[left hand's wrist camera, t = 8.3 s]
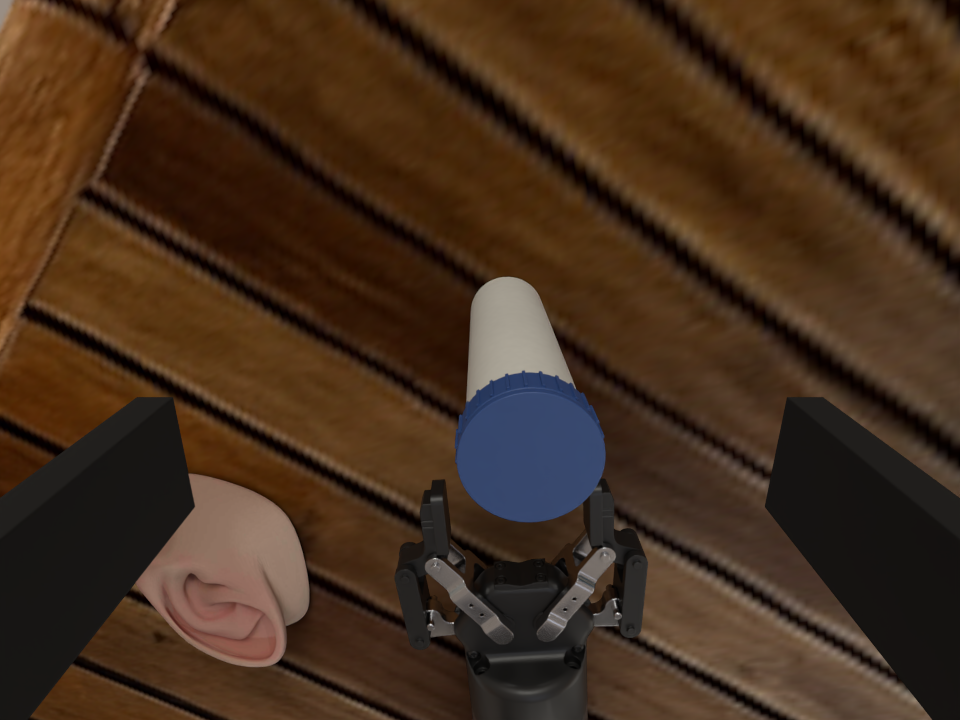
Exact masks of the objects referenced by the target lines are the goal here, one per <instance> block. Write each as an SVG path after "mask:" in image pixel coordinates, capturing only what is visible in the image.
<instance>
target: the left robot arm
mask: <svg viewBox="0 0 960 720" xmlns="http://www.w3.org/2000/svg"><path fill="white" fill-rule="evenodd" d="M194 508H195V503H194V498H193V493H192V489H191V484H190V479H189V474H188V469H187V464H186V459H185V454H184V449H183V444H182V439H181V435H180V430H179V425H178V420H177V415H176V410H175V405H174V400H173V397H137V398H136V399H134V400H133V401H131V402H130V403H129V404H127V405H126V406H125V407H123V408H122V409H121V410H119V411H118V412H117V413H115V414H114V415H112V416H111V417H110V418H108V419H107V420H106V421H104V422H103V423H102V424H100V425H99V426H98V427H96V428H95V429H93V430H92V431H91V432H89V433H88V434H87V435H85V436H84V437H83V438H81V439H80V440H78V441H77V442H76V443H74V444H73V445H72V446H70V447H69V448H68V449H66V450H65V451H64V452H62V453H61V454H59V455H58V456H57V457H55V458H54V459H53V460H51V461H50V462H49V463H47V464H46V465H45V466H43V467H42V468H40V469H39V470H38V471H36V472H35V473H34V474H32V475H31V476H30V477H28V478H27V479H26V480H24V481H23V482H21V483H20V484H19V485H17V486H16V487H15V488H13V489H12V490H11V491H9V492H8V493H6V494H5V495H4V496H2V497H1V498H0V720H28V719H29V717H30V716H31V715H32V713H33V712H34V711H35V710H36V708H37V707H38V706H39V705H40V703H41V702H42V701H43V700H44V698H45V697H46V696H47V694H48V693H49V692H50V691H51V689H52V688H53V687H54V686H55V684H56V683H57V682H58V680H59V679H60V678H61V677H62V675H63V674H64V673H65V672H66V670H67V669H68V668H69V666H70V665H71V664H72V663H73V661H74V660H75V659H76V658H77V656H78V655H79V654H80V652H81V651H82V650H83V649H84V647H85V646H86V645H87V644H88V642H89V641H90V640H91V639H92V637H93V636H94V635H95V633H96V632H97V631H98V630H99V628H100V627H101V626H102V625H103V623H104V622H105V621H106V619H107V618H108V617H109V616H110V614H111V613H112V612H113V611H114V609H115V608H116V607H117V605H118V604H119V603H120V602H121V600H122V599H123V598H124V597H125V595H126V594H127V593H128V592H129V590H130V589H131V588H132V586H133V585H134V584H135V583H136V581H137V580H138V579H139V578H140V576H141V575H142V574H143V572H144V571H145V570H146V569H147V567H148V566H149V565H150V564H151V562H152V561H153V560H154V558H155V557H156V556H157V555H158V553H159V552H160V551H161V550H162V548H163V547H164V546H165V544H166V543H167V542H168V541H169V539H170V538H171V537H172V536H173V534H174V533H175V532H176V531H177V529H178V528H179V527H180V525H181V524H182V523H183V522H184V520H185V519H186V518H187V517H188V515H189V514H190V513H191V511H192V510H193V509H194ZM765 508H766V509H767V510H768V511H769V513H770V514H771V515H772V517H773V518H774V519H775V520H776V522H777V523H778V524H779V525H780V527H781V528H782V529H783V531H784V532H785V533H786V534H787V536H788V537H789V538H790V539H791V541H792V542H793V543H794V544H795V546H796V547H797V548H798V550H799V551H800V552H801V553H802V555H803V556H804V557H805V558H806V560H807V561H808V562H809V564H810V565H811V566H812V567H813V569H814V570H815V571H816V572H817V574H818V575H819V576H820V578H821V579H822V580H823V581H824V583H825V584H826V585H827V586H828V588H829V589H830V590H831V592H832V593H833V594H834V595H835V597H836V598H837V599H838V600H839V602H840V603H841V604H842V605H843V607H844V608H845V609H846V611H847V612H848V613H849V614H850V616H851V617H852V618H853V619H854V621H855V622H856V623H857V625H858V626H859V627H860V628H861V630H862V631H863V632H864V633H865V635H866V636H867V637H868V639H869V640H870V641H871V642H872V644H873V645H874V646H875V647H876V649H877V650H878V651H879V652H880V654H881V655H882V656H883V658H884V659H885V660H886V661H887V663H888V664H889V665H890V666H891V668H892V669H893V670H894V672H895V673H896V674H897V675H898V677H899V678H900V679H901V680H902V682H903V683H904V684H905V686H906V687H907V688H908V689H909V691H910V692H911V693H912V694H913V696H914V697H915V698H916V700H917V701H918V702H919V703H920V705H921V706H922V707H923V708H924V710H925V711H926V712H927V713H928V715H929V716H930V717H931V719H932V720H960V498H959V497H958V496H956V495H955V494H954V493H952V492H951V491H949V490H948V489H947V488H945V487H944V486H943V485H941V484H940V483H939V482H937V481H936V480H934V479H933V478H932V477H930V476H929V475H928V474H926V473H925V472H924V471H922V470H921V469H920V468H918V467H917V466H915V465H914V464H913V463H911V462H910V461H909V460H907V459H906V458H905V457H903V456H902V455H901V454H899V453H898V452H896V451H895V450H894V449H892V448H891V447H890V446H888V445H887V444H886V443H884V442H883V441H882V440H880V439H879V438H877V437H876V436H875V435H873V434H872V433H871V432H869V431H868V430H867V429H865V428H864V427H862V426H861V425H860V424H858V423H857V422H856V421H854V420H853V419H852V418H850V417H849V416H848V415H846V414H845V413H843V412H842V411H841V410H839V409H838V408H837V407H835V406H834V405H833V404H831V403H830V402H829V401H827V400H826V399H824V398H823V397H787V400H786V405H785V410H784V415H783V420H782V425H781V430H780V435H779V439H778V444H777V449H776V454H775V459H774V464H773V469H772V474H771V479H770V484H769V489H768V493H767V498H766V503H765Z"/></svg>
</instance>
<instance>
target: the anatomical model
mask: <svg viewBox="0 0 960 720" xmlns="http://www.w3.org/2000/svg"><path fill="white" fill-rule="evenodd" d="M189 479H190V484H191V489H192V493H193V498H194V503H195V508H194V509H193V510H192V511H191V513H190V514H189V515H188V517H187V518H186V519H185V520H184V522H183V523H182V524H181V525H180V527H179V528H178V529H177V531H176V532H175V533H174V534H173V536H172V537H171V538H170V539H169V541H168V542H167V543H166V544H165V546H164V547H163V548H162V550H161V551H160V552H159V553H158V555H157V556H156V557H155V558H154V560H153V561H152V562H151V564H150V565H149V566H148V567H147V569H146V570H145V571H144V572H143V574H142V575H141V576H140V578H139V579H138V580H137V581H136V585H137V586H138V588H139V589H140V590H141V592H142V593H143V594H144V595H145V597H146V598H147V599H148V600H149V601H150V602H151V604H152V605H153V606H154V607H155V608H156V610H157V611H158V612H159V613H160V614H161V615H162V617H163V618H164V619H165V620H166V621H167V622H168V624H169V625H170V626H171V627H172V628H173V629H174V630H175V631H176V632H177V633H178V634H179V635H180V636H181V637H182V638H184V639H185V640H186V641H187V642H188V643H190V644H191V645H193V646H194V647H196V648H197V649H199V650H201V651H203V652H205V653H207V654H208V655H211V656H213V657H215V658H217V659H220V660H222V661H225V662H228V663H231V664H236V665H240V666H247V667H265V666H270V665H273V664H275V663H276V662H278V661H279V660H280V659H281V658H282V656H283V654H284V652H285V649H286V643H287V633H286V626H288V625H290V624H293V623H295V622H297V621H298V620H300V619H301V618H302V617H303V616H304V615H305V613H306V612H307V610H308V606H309V583H308V575H307V569H306V565H305V560H304V556H303V552H302V548H301V545H300V542H299V539H298V536H297V534H296V531H295V529H294V527H293V525H292V523H291V521H290V520H289V518H288V517H287V515H286V514H285V513H284V512H283V511H282V510H281V509H280V508H279V507H278V506H277V505H275V504H274V503H273V502H271V501H270V500H268V499H267V498H265V497H263V496H261V495H259V494H257V493H256V492H254V491H251V490H249V489H246V488H244V487H242V486H239V485H236V484H233V483H230V482H227V481H223V480H219V479H216V478H212V477H208V476H203V475H198V474H189Z"/></svg>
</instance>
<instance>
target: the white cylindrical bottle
mask: <svg viewBox="0 0 960 720" xmlns="http://www.w3.org/2000/svg"><path fill="white" fill-rule="evenodd" d="M524 370H525V373H526V372H533V373H539V371H542V373H543V374H547V375H551V376H554V377H555V375H557V376H559V379H561V380H563V381H565V382H567V383H568V384H569V383H570V382H571V383H572V384H573V386H574V388H575V385H574V383H573V380H572V377H571V375H570V372H569V370H568V367H567V365H566V362H565V360H564V357H563V355H562V352H561V350H560V347H559V345H558V342H557V340H556V337H555V335H554V332H553V330H552V327H551V325H550V322H549V319H548V317H547V314H546V312H545V309H544V307H543V304H542V302H541V299H540V297H539V295H538V293H537V292H536V290H535V289H534V288H533V287H532V286H531V285H530V284H528V283H527V282H525V281H523V280H521V279H518V278H514V277H501V278H497V279H494V280H491V281H489V282H488V283H486V284H485V285H484V286H482V287H481V288H480V290H479V291H478V292H477V294H476V295H475V297H474V299H473V302H472V306H471V321H470V341H469V361H468V381H467V401H469V402H470V400H471V399H472V398H473V397H474V396H475V395H476V391H477V390H478V389H479V390H481V389H482V388H484V387H485V386H486V385H488V384H489V381H490V380H493V381H495V380H497V379H499V378H501V377H504V376H505V374H507V373H508V375H511V374H516V373H522V371H524ZM575 389H576V388H575ZM467 401H466V402H467Z"/></svg>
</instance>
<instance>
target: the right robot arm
mask: <svg viewBox="0 0 960 720" xmlns="http://www.w3.org/2000/svg"><path fill="white" fill-rule="evenodd" d="M583 512H584V525H585V528H586V529H585V530H584V531H583V532H582V533H581V535H580V536H579V537H578V538H577V539H576V541H575V542H574V543H573V544H570V543H568V544H567V545H566V546H565V547H564V548H563V549H562V550H561V552H560V553H559V554H558V555H557V556H556V557H555V559H554V560H553V561H552V562H551V563H546V562H545V558H544V559H531V560H528V561H524V562H521V563H517V562H510V561H497V562H494V566H491V567H489V568H488V567H487V566H486V565H485V564H484V563H483V562H482V561H481V560H480V559H478V558H477V557H476V556H475V555H474V554H473V553H472V552H471V551H469V550H466V551H464V550H462V549H461V548H460V547H459V546H458V545H457V544H456V543H455V542H454V541H453V540H451V539H450V536H451V526H450V517H449V508H448V500H447V491H446V483H445V479H443V480H432V487H431V490H425V491H424V494H423V497H422V502H421V509H420V518H421V525H422V532H423V541H422V542H420V543H418V544H415V543H413V542H407V543H404V544H403V545H402V546H401V548H400V552H399V562H398V567H397V569H396V572H395V583H396V587H397V591H398V595H399V599H400V603H401V608H402V612H403V616H404V620H405V624H406V628H407V633H408V637H409V641H410V644H411V646H412V647H413V648H415V649H418V650H423V649H426V648H427V647H428V646H429V645H430V638H431V637H437V636H446V635H456V637H457V638H458V639H459V640H460V642H461V643H462V644H463V646H464V649H465V656H466V664H467V673H468V682H469V690H470V699H471V707H472V716H473V720H588V710H587V656H586V641H587V638H588V636H589V634H590V633H591V631H592V630H593V627H594V626H619V628H620V631H621V634H622V635H623V636H625V637H628V638H632V637H635V636H637V635H638V634H639V633H640V632H641V625H642V615H643V606H644V596H645V586H646V577H647V567H648V561H647V559H646V556H645V554H644V551H643V549H642V546H641V544H640V541H639V539H638V536H637V534H636V532H635V531H634V530H633V529H629V528H626V529H623V530H621V531H618V530H615V529H614V499H613V497H612V494H611V491H610V489H609V486H608V484H607V482H606V480H605V479H600V480H599V482H598V484H597V486H596V488H595V489H594V491H593V492H592V493H591V494H590V496H589V497H588V498H587V499H586V500H585V501H584V502H583ZM613 562H614V563H615V566H614V579H613V585H611V584H609V585H607V586H606V591H604V593H603V595H602V598H601V599H600V600H599V601H598V602H596V603H591V602H590V600H589V599H588V598H589V597H590V596H591V594H592V593H593V591H594V588H595V583H596V581H597V579H598V578H599V577H600V576H601V575H602V574H603V573H604V572H605V570H606V569H607V568H608V567H609V566H610V565H611V564H612V563H613ZM426 574H429V575H430V576H432V577H433V578H434V579H435V580H436V581H437V582H438V583H440V584H441V585H442V586H443V587H444V588H445V589H446V590H447V591H448V593H449V596H450V598H451V600H452V601H453V602H454V603H455V604H456V605H457V606H456V608H455V611H454V612H450V611H447V610H445V609H444V608H443V606H442V604H441V603H440V602H439V601H438V600H437V599H438V598H437V596H435V595H432V596H430V594H429V589H428V585H427V580H426Z"/></svg>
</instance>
